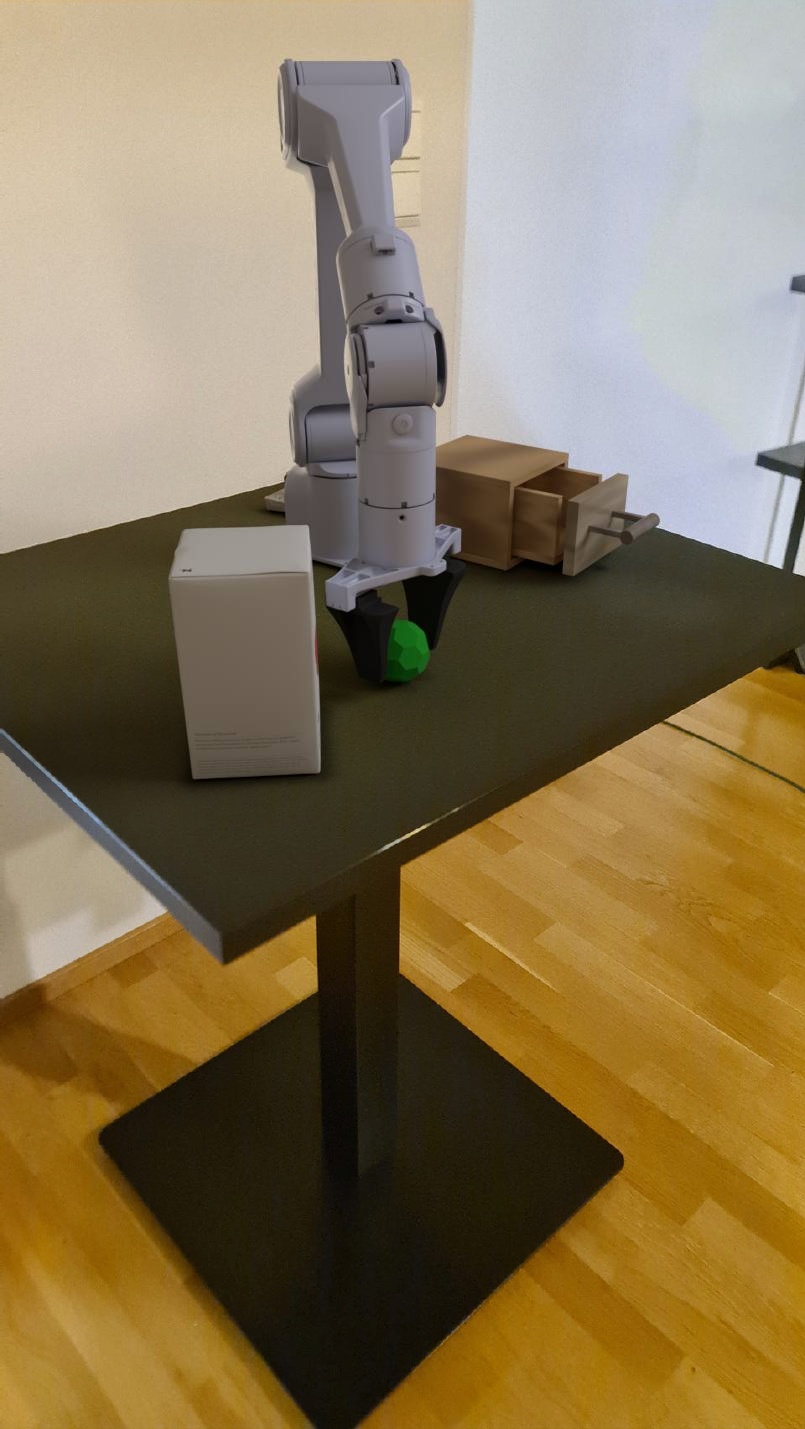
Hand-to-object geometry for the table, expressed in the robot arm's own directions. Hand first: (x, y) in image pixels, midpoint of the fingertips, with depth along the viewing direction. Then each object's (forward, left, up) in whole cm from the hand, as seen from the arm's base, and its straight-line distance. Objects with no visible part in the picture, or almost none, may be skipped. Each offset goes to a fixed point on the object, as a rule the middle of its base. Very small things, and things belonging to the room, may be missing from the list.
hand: (398, 662), depth 81 cm
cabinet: (-11, +30, -1) cm, 32 cm away
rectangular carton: (-2, -14, -2) cm, 14 cm away
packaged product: (-33, +33, -2) cm, 47 cm away
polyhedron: (0, 0, -2) cm, 2 cm away
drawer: (-1, +30, 0) cm, 30 cm away
